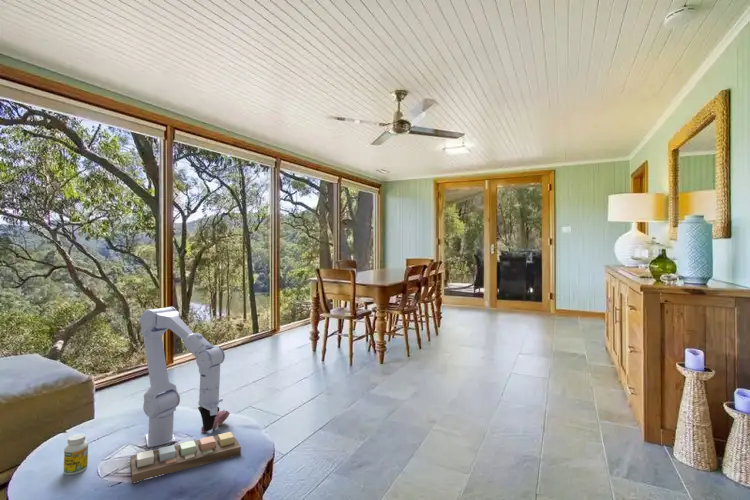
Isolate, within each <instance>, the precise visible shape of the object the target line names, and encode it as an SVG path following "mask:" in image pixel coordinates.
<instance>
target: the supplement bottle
mask: <svg viewBox="0 0 750 500" xmlns="http://www.w3.org/2000/svg"><path fill="white" fill-rule="evenodd" d="M63 453H64V454H63V473H64V475H67V476H73V475H74V476H75V475H78V474H80V473H83V472H84V471H85V470H86V469H87V468H88V464H89V463H88V462H89V461H88V458H89V457H88V456H89V454H88V453H89V442H88V441H86V434H85V433H76V434H72V435H71V436H69V437H67V445H66V446H65V447H64V451H63Z"/></svg>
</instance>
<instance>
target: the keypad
mask: <svg viewBox="0 0 750 500" xmlns="http://www.w3.org/2000/svg"><path fill="white" fill-rule="evenodd" d="M230 432H231V431H230ZM231 433H232V434H233V432H231ZM233 436H234V443H233V444H229V445H225V446H221V447H220V446H219V444H218V435H215V436H214V435H213V437H214V439H215V441H216V444H215V448H213V449H209V450H205V451H200V449H199V440H194V442H195V444H196V453H193V454H189V455H185V456H180V453H179V446H180V444H176V445H174V447H175V450H176V455H175V458H174V459H170V460H166V461H162V462H159V458H158V455H159V449H155V450H153V454H154V464H150V465H146V466H142V467H138V468H137V464H136V460H137V454H134V455H130V457H129V459H130V463H129V464H130V475H131V477H132V478H131V484H132V483H134V482H137V481H140V480H144V479H146V478H150V477H155V476H159V475H162V474H167V473H171V472H174V473H176V472H177V471H178V472H181V471H180V470H182V471H186V470H189V469H192V468H197V467H200V466H203V465H207V464H211V463H214V462H218V461H221V460H226V459H229V458H233V457H236V456H240V455H241V454H242V446H241V444H240V443H239V442H238V440H237V438H236V437H235V435H234V434H233ZM188 468H189V469H188ZM171 474H172V473H171ZM167 475H168V474H167ZM159 477H160V476H159ZM137 483H138V482H137ZM134 484H135V483H134Z"/></svg>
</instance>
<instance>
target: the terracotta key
mask: <svg viewBox="0 0 750 500" xmlns="http://www.w3.org/2000/svg"><path fill="white" fill-rule="evenodd" d="M215 444H216V441H215V439H214V435H211V436H206V437H202V438H199V449H200V451H205V450H209V449H213V448H215Z"/></svg>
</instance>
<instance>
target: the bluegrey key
mask: <svg viewBox="0 0 750 500" xmlns="http://www.w3.org/2000/svg"><path fill="white" fill-rule="evenodd" d="M174 446H175V445H174V444H172V445H168V446H163V447H159V448H158V450H159V455H158V458H159V462H162V461H166V460H170V459H174V458H175V455H176V450H175V447H174Z"/></svg>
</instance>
